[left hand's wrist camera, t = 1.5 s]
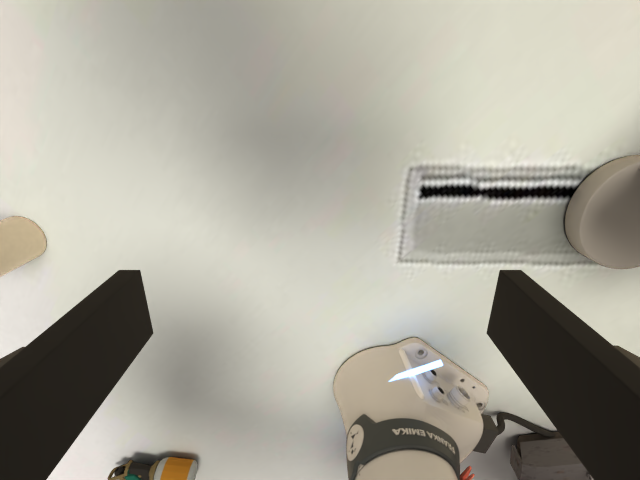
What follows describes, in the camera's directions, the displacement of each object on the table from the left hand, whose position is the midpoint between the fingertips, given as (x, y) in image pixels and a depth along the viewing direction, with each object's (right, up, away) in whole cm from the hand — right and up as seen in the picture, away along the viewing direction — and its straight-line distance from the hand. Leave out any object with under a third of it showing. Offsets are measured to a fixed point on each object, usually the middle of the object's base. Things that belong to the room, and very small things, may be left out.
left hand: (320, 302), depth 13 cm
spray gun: (-24, -38, +45) cm, 64 cm away
